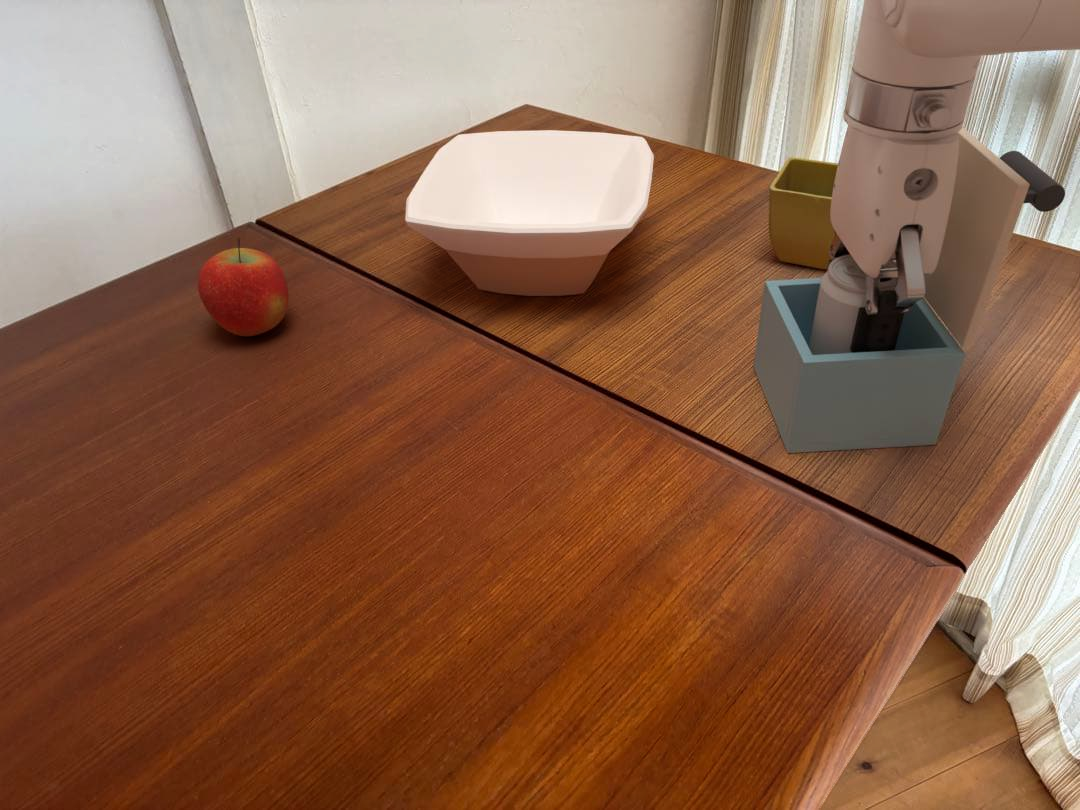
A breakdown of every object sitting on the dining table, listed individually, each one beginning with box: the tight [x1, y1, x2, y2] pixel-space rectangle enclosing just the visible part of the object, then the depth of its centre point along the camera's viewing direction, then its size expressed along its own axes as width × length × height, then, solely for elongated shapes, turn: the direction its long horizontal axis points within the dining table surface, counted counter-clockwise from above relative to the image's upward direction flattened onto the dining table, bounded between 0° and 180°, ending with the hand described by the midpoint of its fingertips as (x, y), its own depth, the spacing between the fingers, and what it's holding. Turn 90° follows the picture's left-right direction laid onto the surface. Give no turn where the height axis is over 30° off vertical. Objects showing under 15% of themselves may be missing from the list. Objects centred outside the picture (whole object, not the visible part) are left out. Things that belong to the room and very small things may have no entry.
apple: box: [197, 236, 289, 337], centre depth 82 cm, size 8×8×10 cm
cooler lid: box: [923, 126, 1066, 349], centre depth 62 cm, size 13×12×5 cm
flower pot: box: [768, 156, 839, 270], centre depth 89 cm, size 9×9×9 cm
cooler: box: [752, 277, 966, 454], centre depth 69 cm, size 12×12×9 cm
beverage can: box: [809, 254, 897, 355], centre depth 67 cm, size 6×6×12 cm
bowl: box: [404, 129, 655, 297], centre depth 89 cm, size 24×25×11 cm
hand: (856, 325), depth 67 cm, fingers closed on beverage can, 6 cm apart
